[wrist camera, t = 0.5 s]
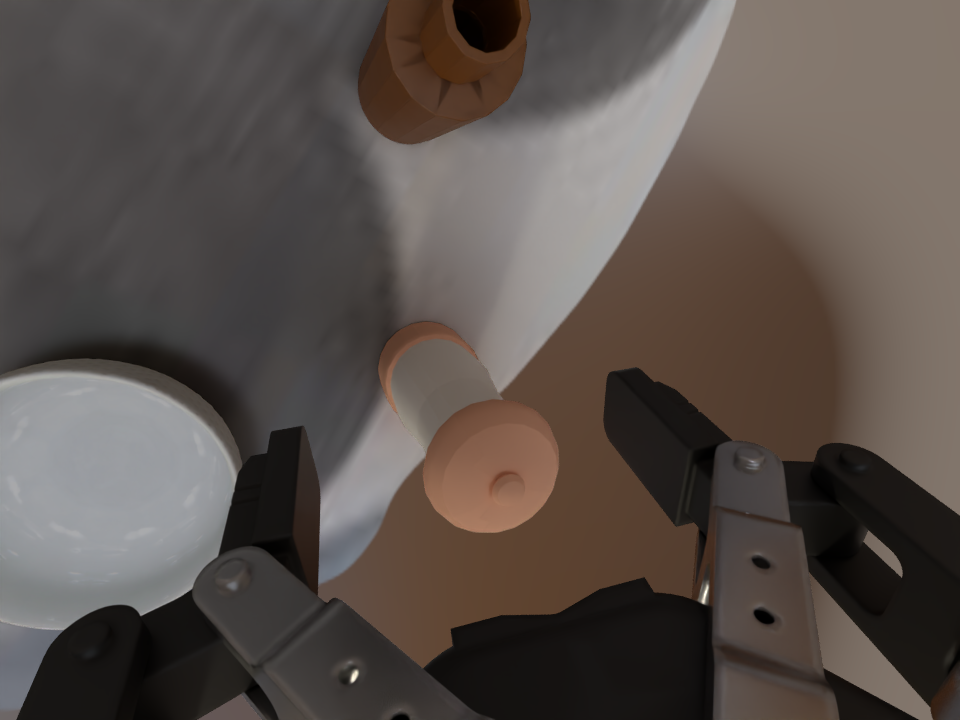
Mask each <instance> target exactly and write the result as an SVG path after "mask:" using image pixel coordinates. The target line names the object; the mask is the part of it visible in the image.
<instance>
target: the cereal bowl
mask: <svg viewBox="0 0 960 720" xmlns="http://www.w3.org/2000/svg"><path fill="white" fill-rule="evenodd" d="M241 468H242V460H241V457H240V454H239V450H238V447H237V445H236V443H235V439H234V437H233V436H232V434H231V432H230V430H229V429H228V427H227V425H226V424H225V423H224V420H223V418H222V417H220V416H219V414H218V413H217V412H216V411H215V410H214V408H213V407H212V405H210V404H208V403H207V401H205V400H204V399H203V398H202V397H201V396H200V395H199V394H197V393H195V392H194V391H193V390H192V389H190V388H188V387H187V386H186V385H184V384H182V383H180V382H178V381H177V380H174V379H173V378H171V377H169V376H166V375H165V374H162V373H159V372H157V371H155V370H151V369H149V368H145V367H142V366H139V365H133V364H130V363H123V362H120V361H112V360H102V359H89V358H86V359H66V360H59V361H48V362H45V363H39V364H34V365H31V366H28V367H25V368H19V369H17V370H13V371H11V372H6V373H4V374H2V375H0V621H1V622H5V623H9V624H14V625H19V626H24V627H31V628H38V629H52V630H65V629H66V628H67V627H69V626H70V625H71V624H72V623H74V622H75V621H77V620H78V619H80V618H81V617H83V616H85V615H87V614H88V613H90V612H93V611H95V610H97V609H100V608H103V607H106V606H111V605H120V604H121V605H128V606H131V607H133V608H135V609H136V610H137V611H138V613H139V614H140V616H142V615H144V614H146V613H148V612H150V611H152V610H154V609H156V608H158V607H160V606H163V605H165V604H167V603H169V602H171V601H173V600H175V599H177V598H179V597H180V596H182V595H183V594H185V593H186V592H188V591H189V590H190V589H192V588H193V584H194V582H195V580H196V578H197V576H198V575H199V573H200V572H201V571H202V569H203V568H204V567H205V566H206V565H207V564H208V563H209V562H211V561H212V560H213V559H215V558H216V557H218V554H219V550H220V546H221V541H222V537H223V533H224V529H225V525H226V521H227V517H228V512H229V508H230V506H231V500H232V496H233V492H235V490H234V488H235V483H236V479H237V475H238V472H239V471H240V469H241Z"/></svg>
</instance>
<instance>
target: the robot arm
mask: <svg viewBox="0 0 960 720" xmlns="http://www.w3.org/2000/svg"><path fill="white" fill-rule="evenodd" d="M604 428H605V432H606V434H607V437H608V439H609V441H610V442H611V443H612V445H613V446H614V447H615V448H616V450H617V451H618V452H619V454H620V455H621V456H622V458H623V459H624V460H625V461H626V463H627V464H628V465H629V467H630V468H631V469H632V471H633V472H634V473H635V474H636V476H637V477H638V478H639V480H640V481H641V482H642V483H643V485H644V486H645V487H646V489H647V490H648V491H649V492H650V494H651V495H652V496H653V497H654V499H655V500H656V501H657V503H658V504H659V505H660V507H661V508H662V509H663V511H664V512H665V513H666V514H667V516H668V517H669V518H670V520H671V521H672V522H673V524H674V525H675V526H676V527H677V526H681V525H685V524H689V523H693V522H694V523H695V524H696V525H697V526H698V533H697V538H696V549H695V563H694V575H693V588H692V599H689V598H686V597H683V596H678V595H673V594H666V593H654V592H653V590H652V588H651V587H650V585H649V584H648V582H647V581H646V579H645V578H640V579H636V580H633V581H629V582H625V583H622V584H618V585H614V586H610V587H607V588H602V589H599V590H598V591H596V592H594V593H592V594H591V595H589V596H588V597H586V598H584V599H582V600H580V601H579V602H577V603H575V604H574V605H572V606H570V607H569V608H567V609H565V610H563V611H562V612H560V613H557V614H551V615H501V616H497V617H493V618H490V619H486V620H482V621H478V622H474V623H471V624H467V625H464V626H459V627H456V628H452V629H451V635H452V644H453V646H452V647H450V648H449V649H447V650H445V651H444V652H442V653H441V654H440V655H438V656H437V657H436V658H434V659H433V660H432V661H431V662H430V663H429V664H427V665H426V666H425V667H424V668H421V667H420V666H419V665H418V664H417V663H416V662H414V661H413V660H412V659H411V658H410V657H408V656H407V655H406V654H405V653H404V652H403V651H401V650H400V649H399V648H398V647H397V646H396V645H394V644H393V643H392V642H391V641H390V640H388V639H387V638H386V637H385V636H384V635H383V634H381V633H380V632H379V631H378V630H377V629H375V628H374V627H373V626H372V625H371V624H370V623H368V622H367V621H366V620H365V619H363V618H362V617H361V616H360V615H359V614H358V613H357V612H355V611H354V610H353V609H352V608H350V607H349V606H348V605H347V604H346V603H344V602H343V601H342V600H339V599H338V598H332V599H331V600H330V601H329V602H328V603H326V602H324V601H323V600H322V599H321V598H319V597H318V568H319V533H320V487H319V480H318V475H317V471H316V467H315V463H314V460H313V456H312V452H311V448H310V444H309V441H308V437H307V433H306V430H305V428H304V426H299V427H293V428H288V429H282V430H276V431H272V432H271V434H270V439H269V445H268V451H267V453H265V454H260V455H255V456H251V457H250V458H249V459H248V461H247V462H246V463H245V464H244V466H243V467H242V468H241V469H240V471H239V472H238V475H237V479H236V483H235V488H234V490H235V492H233V496H232V500H231V506H230V508H229V512H228V517H227V521H226V525H225V529H224V533H223V537H222V541H221V546H220V550H219V554H218V557H216V558H215V559H213V560H212V561H211V562H209V563H208V564H207V565H206V566H205V567H204V568H203V569H202V571H201V572H200V573H199V575H198V576H197V578H196V580H195V582H194V584H193V589H192V590H190V591H189V592H187V593H186V594H184V595H183V596H181V597H179V598H177V599H175V600H173V601H171V602H169V603H167V604H165V605H163V606H160V607H158V608H156V609H154V610H152V611H150V612H148V613H146V614H144V615H142V616H140V614H139V613H138V611H137V610H136V609H135V608H133V607H131V606H128V605H121V604H120V605H111V606H106V607H103V608H100V609H97V610H95V611H93V612H90V613H88V614H87V615H85V616H83V617H81V618H80V619H78V620H77V621H75V622H74V623H72V624H71V625H70V626H69V627H67V628H66V629H65V630H64V631H63V632H62V633H61V634H60V635H59V636H58V637H57V638H56V639H55V640H54V641H53V643H52V644H51V645H50V647H49V648H48V650H47V652H46V654H45V656H44V658H43V660H42V662H41V665H40V667H39V669H38V671H37V674H36V676H35V678H34V681H33V683H32V685H31V687H30V690H29V692H28V694H27V697H26V699H25V701H24V703H23V706H22V708H21V710H20V713H19V715H18V717H17V720H197V719H199V718H201V717H202V716H204V715H206V714H208V713H209V712H211V711H213V710H214V709H216V708H218V707H220V706H221V705H223V704H225V703H226V702H228V701H230V700H231V699H233V698H235V697H237V696H238V695H240V694H241V695H242V696H243V697H244V698H245V700H246V701H247V702H248V703H249V704H250V706H251V707H252V708H253V709H254V711H255V712H256V713H257V714H258V715H259V717H260V718H261V719H262V720H918V719H916V718H915V717H912V716H911V715H909V714H907V713H905V712H903V711H902V710H900V709H898V708H896V707H894V706H892V705H890V704H889V703H887V702H885V701H883V700H881V699H879V698H878V697H876V696H874V695H872V694H870V693H868V692H866V691H864V690H863V689H861V688H859V687H857V686H855V685H854V684H852V683H850V682H848V681H846V680H844V679H843V678H841V677H839V676H837V675H835V674H833V673H832V672H830V671H828V670H826V669H824V668H823V664H822V657H821V651H820V644H819V637H818V630H817V624H816V618H815V611H814V604H813V597H812V590H811V584H810V577H809V572H810V574H811V575H812V576H813V577H814V578H815V579H816V580H817V581H818V582H819V584H820V585H821V586H822V587H823V588H824V589H825V590H826V591H827V593H828V594H829V595H830V596H831V597H832V598H833V599H834V600H835V601H836V603H837V604H838V605H839V606H840V607H841V608H842V609H843V610H844V612H845V613H846V614H847V615H848V616H849V617H850V618H851V619H852V620H853V622H854V623H855V624H856V625H857V626H858V627H859V628H860V629H861V631H862V632H863V633H864V634H865V635H866V636H867V637H868V638H869V639H870V641H872V643H873V644H874V645H875V646H876V647H877V648H878V650H879V651H880V652H881V653H882V654H883V655H884V656H885V657H886V658H887V659H888V661H889V662H890V663H891V664H892V665H893V666H894V667H895V668H896V670H897V671H898V672H899V673H900V674H901V675H902V676H903V677H904V679H905V680H906V681H907V682H908V683H909V684H910V685H911V686H912V688H913V689H914V690H915V691H916V692H917V693H918V694H919V695H920V696H921V697H922V699H923V700H924V701H925V702H926V703H927V704H928V705H929V707H930V708H931V714H932V718H933V720H960V516H959V515H958V514H957V513H955V512H954V511H953V510H951V509H950V508H948V507H947V506H946V505H945V504H943V503H942V502H940V501H939V500H938V499H936V498H935V497H934V496H932V495H931V494H930V493H928V492H927V491H926V490H924V489H923V488H921V487H920V486H919V485H917V484H916V483H915V482H913V481H912V480H911V479H909V478H908V477H907V476H905V475H904V474H902V473H901V472H900V471H898V470H897V469H896V468H894V467H893V466H892V465H890V464H889V463H888V462H886V461H885V460H884V459H882V458H881V457H879V456H878V455H876V454H874V453H873V452H871V451H868V450H866V449H864V448H861V447H857V446H854V445H850V444H843V443H830V444H826V445H823V446H821V447H820V448H819V450H818V451H817V454H816V457H815V460H814V462H800V461H781V460H780V458H779V457H778V456H777V455H776V454H774V453H773V452H772V451H770V450H769V449H767V448H765V447H763V446H761V445H758V444H755V443H751V442H747V441H733V440H732V439H730V438H729V437H728V436H727V435H726V434H725V433H724V432H723V431H721V430H720V429H719V428H718V427H717V426H716V425H715V424H714V423H712V422H711V421H710V420H709V419H708V418H707V417H706V416H705V415H704V414H702V413H701V412H698V409H697V408H696V407H695V406H693V405H692V404H691V403H688V400H687V399H686V398H685V397H683V396H682V395H681V394H680V393H679V392H678V391H677V390H675V389H673V388H671V387H669V386H667V385H664V384H663V383H661V382H653V381H652V380H651V379H650V378H649V377H648V376H647V375H646V374H645V373H644V372H643V371H642V370H640V369H639V368H637V367H635V368H629V369H624V370H618V371H612V372H610V373H609V374H608V377H607V383H606V395H605V407H604ZM868 530H869V531H870V532H871V533H872V534H873V535H875V536H876V537H877V538H878V539H879V540H880V541H881V542H882V543H883V544H885V545H886V546H887V547H888V548H889V549H890V550H891V551H892V552H893V553H894V554H895V555H896V556H897V558H898V560H899V561H900V563H901V566H902V570H903V576H902V578H901V577H900V576H899V575H898V574H897V573H896V572H895V571H894V570H893V569H891V567H889V566H888V565H887V564H886V563H885V562H884V561H883V560H882V559H881V558H880V557H879V556H878V555H877V554H876V553H875V552H873V551H872V550H871V549H870V548H869V547H868V546H867V545H866V544H865V543H864V542H863V541H864V539H865V536H866V534H867V532H868Z"/></svg>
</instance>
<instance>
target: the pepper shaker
mask: <svg viewBox="0 0 960 720" xmlns="http://www.w3.org/2000/svg"><path fill="white" fill-rule="evenodd" d="M378 371H379V376H380V382H381V385H382V387H383V390H384V393H385V395H386V398H387V399H388V401H389V403H390V405H391V406H392V408H393V410H394V411H395V412H396V413H398V415H399V417H400V419H401V421H402V423H403V424H404V426H405V428H406V429H407V430H408V431H409V432H410V433H411V435H412V436H413V437H414V438H415V439H416V440H417V441H418V442H419V443H420V444H421V445H422V446H423V448H424V450H425V452H426V459H425V464H424V469H423V479H424V485H425V492H426V495H427V496H428V498H429V500H430V501H431V503H432V505H433V507H434V508H435V510H436V511H437V512H438V513H440V514H441V515H442V516H443V517H444V518H446V519H447V520H448V521H449V522H451V523H452V524H453V525H455V526H456V527H459V528H462V529H465V530H469V531H472V532H483V533H484V532H500V531H504V530H508V529H511V528H514V527H516V526H518V525H519V524H521V523H523V522H525V521H526V520H528V519H530V518H531V517H532V516H533V515H534V514H535V513H536V512H537V511H538V510H539V509H540V508H541V507H542V506H543V505H544V504H545V502H546V500H547V499H548V497H549V495H550V494H551V492H552V490H553V487H554V483H555V480H556V476H557V472H558V468H559V452H558V446H557V443H556V441H555V438H554V436H553V433H552V431H551V429H550V426H549V424H548V423H547V422H546V421H545V420H544V418H543V417H542V416H540V414H539V413H538V412H537V411H536V410H534V409H532V408H530V407H528V406H525V405H523V404H521V403H519V402H515V401H507V400H504V399H503V398H502V397H501V396H500V395H499V394H498V392H497V390H496V388H495V385H494V383H493V381H492V379H491V377H490V375H489V373H488V371H487V369H486V368H485V367H484V366H483V365H482V364H481V363H480V362H479V360H478V358H477V356H476V354H475V352H474V350H473V349H472V348H471V347H470V346H469V345H468V344H467V343H466V342H465V341H464V340H463V339H462V338H461V337H460V336H459V335H458V334H457V333H456V332H455V331H453V330H452V329H450V328H448V327H446V326H444V325H442V324H440V323H433V322H420V323H414V324H410V325H408V326H407V327H405V328H403V329H401V330H399V331H397V332H396V333H395V334H394V335H393V336H392V337H391V338H390V339H389V340H388V341H387V343H386V345H385V347H384V349H383V351H382V352H381V354H380V360H379V366H378Z"/></svg>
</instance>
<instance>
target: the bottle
mask: <svg viewBox="0 0 960 720" xmlns="http://www.w3.org/2000/svg"><path fill="white" fill-rule="evenodd" d="M530 20H531V15H530V9H529V3H528V0H389V2H388V4H387V6H386V9H385V11H384V13H383V16H382V18H381V20H380V23H379V25H378V27H377V30H376V32H375V34H374V37H373V39H372V41H371V44H370V46H369V48H368V51H367V53H366V55H365V58H364V60H363V62H362V65H361V67H360V72H359V78H358V94H359V99H360V103H361V106H362V109H363V111H364V113H365V115H366V117H367V119H368V120H369V122H370V123H371V124H372V126H373V127H374V128H375V129H376V130H377V131H378V132H379V133H381V134H382V135H383V136H385V137H387V138H388V139H390V140H392V141H395V142H398V143H402V144H418V143H422V142H425V141H429V140H432V139H434V138H436V137H439V136H441V135H443V134H446V133H448V132H450V131H453V130H455V129H457V128H460V127H462V126H464V125H467V124H469V123H471V122H474V121H476V120H478V119H481V118H483V117H485V116H487V115H489V114H490V113H492V112H493V111H494V110H495V109H497V108H498V107H499V106H500V105H502V104H503V103H504V102H505V101H507V100H508V99H509V97H510V95H511V93H512V92H513V90H514V88H515V86H516V84H517V83H518V81H519V79H520V77H521V75H522V72H523V65H524V59H525V52H526V46H527V44H526V43H527V42H526V35H527V31H528V27H529V23H530Z"/></svg>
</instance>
